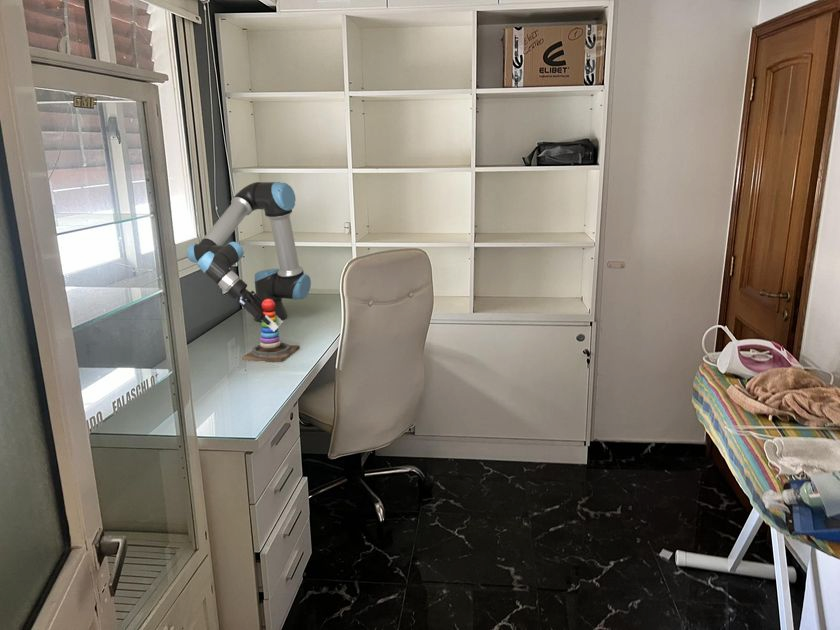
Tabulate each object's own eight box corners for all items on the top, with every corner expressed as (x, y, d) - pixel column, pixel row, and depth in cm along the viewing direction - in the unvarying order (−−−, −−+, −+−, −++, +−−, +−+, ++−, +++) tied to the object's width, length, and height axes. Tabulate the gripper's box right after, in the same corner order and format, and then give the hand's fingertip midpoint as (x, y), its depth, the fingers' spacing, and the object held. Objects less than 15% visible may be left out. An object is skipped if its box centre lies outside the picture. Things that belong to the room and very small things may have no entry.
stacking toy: (275, 349, 245) (272, 302, 240) (256, 348, 247) (252, 301, 242) (284, 343, 253) (281, 297, 247) (265, 342, 254) (261, 296, 249)
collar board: (263, 346, 261) (262, 339, 260) (299, 348, 258) (299, 341, 257) (242, 360, 244) (241, 353, 243) (281, 362, 241) (280, 356, 240)
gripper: (235, 286, 254) (278, 326, 258) (218, 297, 236) (265, 340, 239) (247, 273, 252) (290, 313, 256) (231, 283, 234) (278, 326, 238)
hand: (278, 326), depth 248 cm, fingers closed on stacking toy, 6 cm apart
